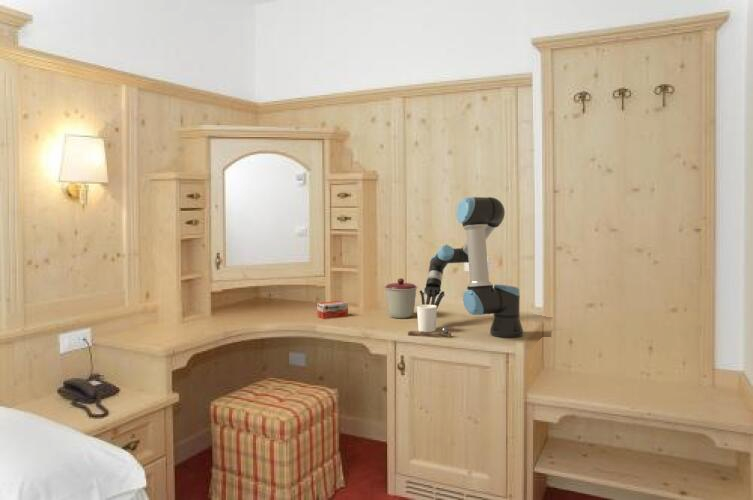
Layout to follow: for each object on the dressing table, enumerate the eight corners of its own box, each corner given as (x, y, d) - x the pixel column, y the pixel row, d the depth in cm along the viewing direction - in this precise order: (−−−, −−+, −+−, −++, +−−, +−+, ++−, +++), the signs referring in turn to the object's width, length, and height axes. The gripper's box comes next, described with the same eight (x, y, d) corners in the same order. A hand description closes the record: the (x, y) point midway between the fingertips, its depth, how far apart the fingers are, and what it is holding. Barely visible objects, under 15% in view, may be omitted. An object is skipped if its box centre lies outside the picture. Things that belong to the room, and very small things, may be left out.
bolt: (448, 332, 291) (448, 327, 291) (447, 334, 289) (447, 328, 289) (442, 332, 292) (442, 327, 292) (441, 333, 290) (441, 328, 289)
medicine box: (323, 319, 336) (323, 304, 336) (317, 317, 343) (316, 302, 343) (348, 316, 344) (348, 302, 343) (341, 314, 351) (341, 300, 350)
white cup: (419, 333, 299) (419, 308, 298) (414, 329, 308) (414, 305, 307) (439, 332, 301) (439, 307, 300) (433, 328, 310) (433, 304, 309)
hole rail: (451, 336, 292) (451, 332, 291) (449, 337, 288) (449, 334, 288) (409, 334, 297) (409, 330, 297) (408, 335, 294) (408, 332, 294)
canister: (423, 318, 336) (423, 279, 335) (392, 321, 330) (391, 281, 328) (409, 312, 353) (408, 275, 351) (379, 315, 346) (379, 277, 345)
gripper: (447, 286, 324) (441, 324, 309) (422, 285, 328) (415, 323, 313) (445, 277, 318) (439, 315, 304) (420, 276, 322) (413, 314, 308)
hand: (427, 319), depth 308 cm, fingers closed
